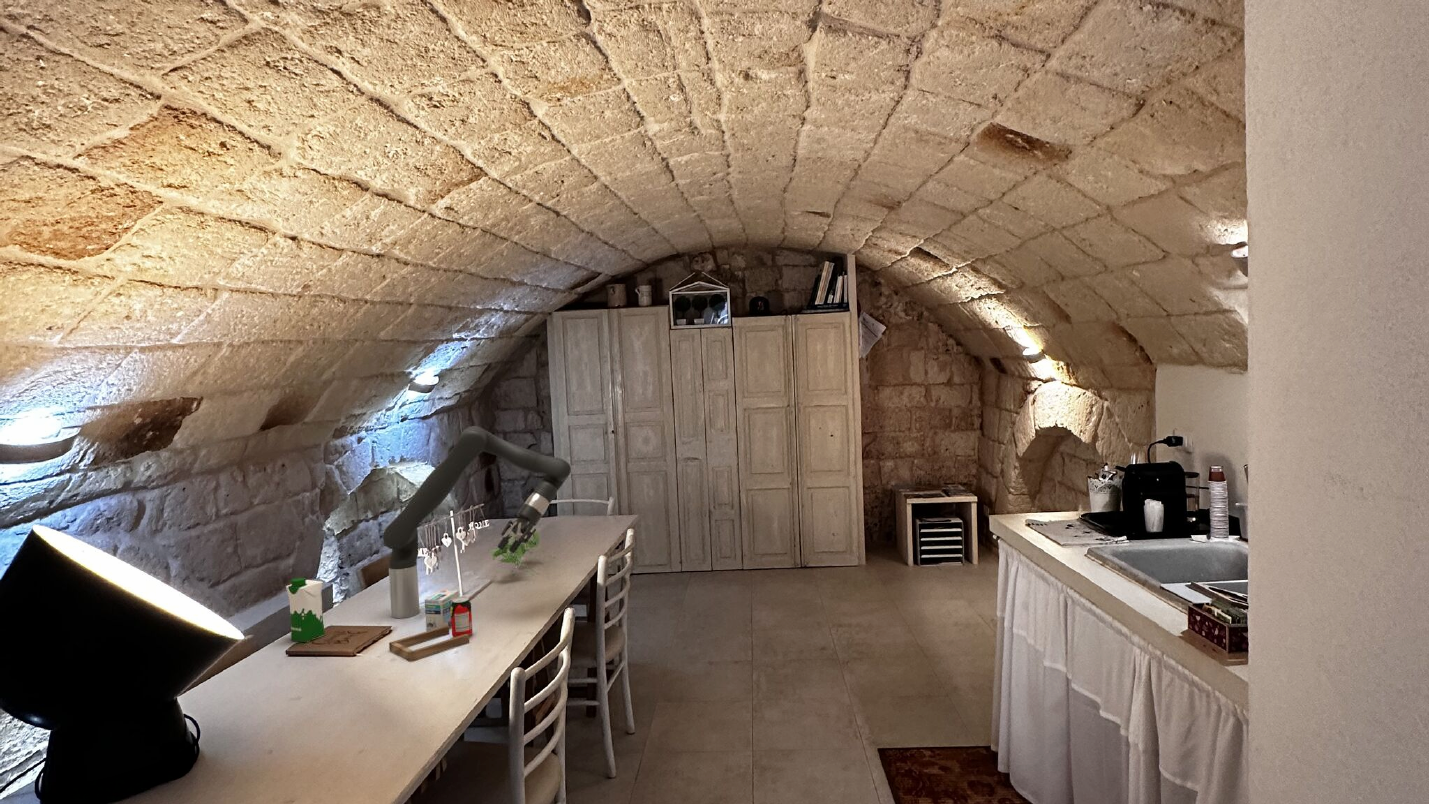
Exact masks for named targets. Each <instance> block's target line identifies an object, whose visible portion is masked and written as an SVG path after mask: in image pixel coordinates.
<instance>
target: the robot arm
mask: <svg viewBox="0 0 1429 804" xmlns="http://www.w3.org/2000/svg"><path fill="white" fill-rule="evenodd" d="M483 452H484V453H488V454H491V455H495V456H497V457H499V458H501V459H503V460H505V461H506V462H508V463H510V464H512V465H513V466H514V467H515V466H516V467H517V468H519V469H522V470H525V471H527V472H530V473H534V474H541V473H542V474H545V475H544V477H543V478H542V480H541V482H539V484H537V486H536V487H535V489H534V490H533V492H532V493H531V494H530V495H529V496H528V498H527V499H526V500H525V502H524V503H523V505H522V506H521V507H520V509H519V511H518V512H517V514H516V515H517V519H516V520H515V521H512V519H511V520H509V521H508V522H507V523H506V526H505V527H504V529H503V531H502V532H501V533H500V535H501V536H502V538H501V540H500V542H499V543H498V545H497V549H498V548H499V549H500V550H503V549H504V548H505V546H506V545H507V543H508V542H509V543H510V540H512V539H513V537H514V538H515V537H516V536H517V537H516V541H515V540H513V541H512V542H513V544H512V545H511V547H510V548H509V549H508V550H509V551H508V552H509V553H510V552H512V553H515V551H516V550H517V549H518V547H519V546H520V544H522V543H524V544H526V543H527V541H529V540H531V539H530V538H532V537H533V534H534V532H535V531H537V528H536V527H535V526H536V525H537V524H538V523H539V521H540V520H541V519H542V517H543V516H544V514H545V513H546V511H547V509H548V507H549V505H550V504H551V502H552V501H553V500H554V499H555V496H556V495H557V493H558V491H559V490H560V488H561V487H562V486H563V485H564V483H565V482H566V480H567V479H568V477H569V476H570V475H571V472H572V466H571V465H570V463H569V462H568V461H566V460H565V459H562V458H559V457H555V456H550V455H544V454H541V453H538V452H537V451H534V450H530V449H528V448H525V447H522V446H520V445H518V444H517V445H516V444H514V443H512V442H509V441H507V440H504V439H503V438H501V437H498V436H497V435H495V434H493V433H492V432H490V431H488V430H486V429H484V428H483V427H480V426H476V425H473V426H468V427H467V428H465V429H464V430H463V431H462V433H461V434H460V436H459V438H458V439H457V441H456V443H455V444H454V446H453V448H452V449H451V451H450V452H449V453H448V455H447V457H445V459H444V460H443V461H442V462H440V463H439V464H438V465H437V466H436V467H435V468H434V469H433V470H432V471H431V473H429V475H428V476H427V477H426V478H425V480H424V481H423V482H422V483H421V485H420V486H419V487H418V488H417V490H416V491H415V493H414V495H413V496H412V497H411V499H410V500H409V502H408V503H407V505H406V506H405V508H404V509H403V510H402V511H401V512H400V513H399V514H398V515H397V516H396V518H394V519H393V521H391V523H389V525H388V526H386V527H385V529H384V531H383V535H382V540H383V544H384V546H386V548H388V549H391V553H390V557H389V558H388V565H387V566H388V576H389V577H388V579H389V580H388V581H389V597H390V612H391V613H390V614H391V617H392V618H396V619H402V618H403V619H404V618H410V617H414V616H417V615H419V613H421V611H420V597H419V596H420V593H419V579H418V578H419V577H418V576H419V575H418V574H419V573H418V556H419V533H418V532H419V531H418V527H419V525H420V524H421V523H422V521H423V520H424V519H426V518H427V517H428V516H429V515H431V513H433V512H434V511H435V510H436V509H437V508H438V507H439V506H440V505H441V504H442V503H443V501H444V500H445V499H447V497H448V496H449V494H450V493H451V492H452V490H453V489H454V487H455V486H456V485H457V483H458V481H459V479H460V478H461V476H462V474H463V473H464V471H465V470H466V469H467V468H468V467H469V466H470V465H471V463H472V462H473V461H474V460H475V459H476V458H478V456H480V454H481V453H483ZM510 534H511V535H510ZM509 535H510V536H509ZM526 535H527V537H526ZM511 538H512V539H511ZM525 538H526V539H525ZM509 543H508V544H509Z"/></svg>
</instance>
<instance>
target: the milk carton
mask: <svg viewBox="0 0 1429 804" xmlns="http://www.w3.org/2000/svg"><path fill="white" fill-rule="evenodd" d="M323 585H324V582H323V581H318V580H312V579H306V577H296V578H293V579H291V584H289V585H285V588H286V593H287V596H288V601H289V614H290V615H289V616H290V641H292V642H293V641H294V642H297V643H303V642H307V641H309V640H312V639H313V638H317V637H319V636H321V635H324V634H325V635H326V633H325V625H324V617H323V600H322V591H323ZM317 639H318V638H317ZM312 641H313V640H312ZM307 643H308V642H307Z"/></svg>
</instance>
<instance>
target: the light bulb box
mask: <svg viewBox="0 0 1429 804" xmlns="http://www.w3.org/2000/svg"><path fill="white" fill-rule="evenodd" d="M459 593H460V591H459V590H445V589H444V590H443V589H441V590H439V591H437V592H435V593H434V594H431V595H430V596H428V597H427V598H425V599H424V612H425V614H424V615H425V630H426V631H430V630H433V629H436V628H440V627H443V626H446V625H447V626H449V629H450V628H451V610H450V606H451V604H452V600H453V599H455V598H459V597H460V596H459V595H460V594H459ZM451 629H452V628H451ZM426 631H425V632H426Z"/></svg>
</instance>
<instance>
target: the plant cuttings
mask: <svg viewBox="0 0 1429 804" xmlns="http://www.w3.org/2000/svg"><path fill="white" fill-rule="evenodd" d="M510 535H511V534H510ZM510 535H509V536H510ZM516 537H517V536H516ZM516 537H513V538H511V539H510V540H509V542H508V543H507V545H506V546H505V548H504V549H503V550H500V549H499V548H498V547H497V548H496V549H494V550H493V552H492V555H491V556H492V560H493V561H494V560H495V559H496V558H498V557H499V556H501V558H500V559H498V561H500V564H501V563H510V564H511V563H512V564H513V565H515V567H513V569H511V570H510V574H511V575H514V574H515V573H516V572H517V571H518V569H519V567H521V566H520V565H523V566H524V567H526V568H527V569H528V570H529V571H531V572H533V573H535V574H537V575H539V576H540V573H538V572H535V570H533V569H531V568H530V567H528V566H526V565H525V564H524V561H525V557H523V556H524V555H525V554H528V555H529V556H532V557H534V558H536V559H537V560H539V561H541V562H542V563H543V564H545V565H546V566H548V567H550V568H552V566H551V565H550V564H549V563H547V562H544V561H543V560H541V559H540V558H537V557H536V556H534V555H532V554H533V553H534V551H533V548H534V547H537V548H538V549H539V550H541V551H542V552H543V553H544V554H545V555H547V557H549V558H553V559H556V557H555V556H553V555H550V554H548V553H546V552H545V551H544V550H542V549H541V548H540V547H539V544H540V537H539V533H538V532H537V530H536V531H535V532H534V534H533V535H532V537H533V539H529V540H528V541H527V543H522V544H520V546H519V547H518V549H517V550H516V551H515V553H512V552H510V551H509V548H510V547H511V545H512V544H513V542H514V541H516ZM526 538H527V535H526ZM526 538H525V539H526ZM525 544H526V546H525ZM529 548H530V549H531V552H530V549H529ZM523 570H524V571H526V572H527V573H529V574H530V575H532V576H534V577H535V578H537V576H536V575H534V574H533V573H530V572H529V571H528V570H526V569H525V568H523ZM513 573H514V574H513Z"/></svg>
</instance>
